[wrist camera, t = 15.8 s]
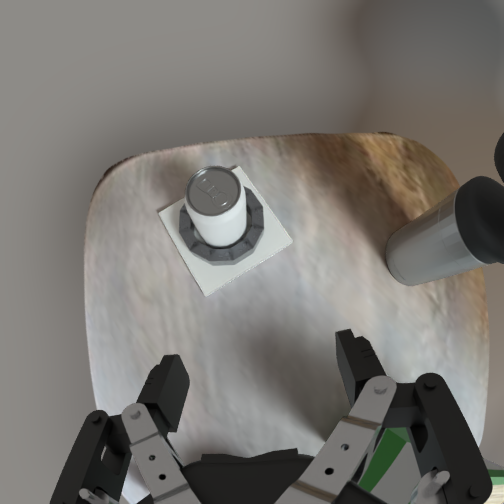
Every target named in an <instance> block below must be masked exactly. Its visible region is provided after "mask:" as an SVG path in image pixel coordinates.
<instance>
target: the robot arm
mask: <svg viewBox="0 0 504 504" xmlns="http://www.w3.org/2000/svg"><path fill="white" fill-rule="evenodd" d="M494 161H495V166H496V169H497V171H498V173H499V175H500V177H501V179H502V181H503V182H504V133H503V134H502V136H501V137H500V139H499V141H498V143H497V146H496V148H495V154H494ZM386 262H387V265H388V268H389V270H390V272H391V274H392V275H393V276H394V278H395V279H397V280H398V281H399V282H400V283H402V284H404V285H408V286H415V285H419V284H423V283H427V282H431V281H435V280H439V279H443V278H446V277H450V276H453V275H457V274H460V273H464V272H467V271H470V270H474V269H477V268H480V267H483V266H486V265H489V264H492V263H496V262H499V263H502V264H504V187H503V186H502V185H501V184H499V183H498V182H496V181H495V180H493V179H491V178H488V177H484V176H478V177H475V178H473V179H471V180H470V181H468V182H467V183H465V184H464V185H462V186H461V187H460V188H459V189H457V190H456V191H454V192H453V193H452V194H450V195H449V196H447V197H446V198H445V199H443V200H442V201H441V202H439V203H438V204H436V205H435V206H433V207H432V208H431V209H429V210H428V211H426V212H425V213H423V214H422V215H420V216H419V217H417V218H416V219H414V220H413V221H411V222H410V223H408V224H407V225H405V226H404V227H402V228H401V229H399V230H398V231H396V232H395V233H394V234H392V236H391V237H390V238H389V240H388V243H387V246H386ZM335 336H336V356H337V363H338V367H339V370H340V373H341V376H342V379H343V382H344V386H345V389H346V392H347V395H348V399H349V402H350V405H351V408H352V409H351V411H350V413H349V414H348V416H347V417H343V418H342V419H341V420H340V421H339V423H338V424H337V426H336V428H335V429H334V431H333V432H332V434H331V435H330V437H329V438H328V440H327V441H326V443H325V444H324V446H323V447H322V448H321V450H320V451H319V453H318V454H317V455H316V457H313V456H310V455H304V454H298V450H297V448H295V449H287V450H279V451H272V452H268V453H265V454H262V455H258V456H255V457H251V458H243V457H237V456H232V455H226V454H202V457H201V460H200V461H196V462H193V463H190V464H188V465H186V466H185V464H184V463H183V461H182V460H181V458H180V457H179V455H178V454H177V452H176V450H175V449H174V447H173V445H172V444H171V442H170V440H169V439H168V437H167V434H168V432H177V428H178V425H179V421H180V418H181V414H182V410H183V407H184V403H185V400H186V396H187V393H188V389H189V385H190V380H189V375H188V373H187V371H186V369H185V367H184V364H183V362H182V360H181V358H180V356H179V355H178V354H174V355H164V356H163V358H162V360H161V363H160V365H156V366H155V367H154V368H153V369H152V370H151V371H150V373H149V375H148V377H147V380H146V382H145V385H144V386H143V388H142V391H141V393H140V395H139V397H138V399H137V402H136V403H134V404H131V405H129V406H127V407H126V408H125V409H124V410H123V412H122V414H120V415H115V416H108V414H107V413H106V412H105V411H103V410H96V411H93V412H92V413H90V414H89V415H88V416H87V418H86V420H85V422H84V424H83V426H82V428H81V430H80V432H79V434H78V436H77V439H76V441H75V443H74V445H73V447H72V450H71V452H70V454H69V456H68V459H67V461H66V463H65V466H64V468H63V470H62V473H61V475H60V478H59V480H58V483H57V485H56V488H55V490H54V493H53V495H52V498H51V501H50V504H119V499H120V496H121V492H122V488H123V485H124V481H125V477H126V474H127V470H128V467H129V463H130V460H131V456H132V455H133V457H134V459H135V461H136V464H137V466H138V468H139V470H140V473H141V475H142V477H143V479H144V481H145V483H146V485H147V487H148V489H149V491H150V494H149V495H148V496H146V497H145V498H144V499H142V500H141V501H139V502H138V503H137V504H388V503H386V502H385V501H383V500H381V499H380V498H378V497H376V496H375V495H373V494H372V493H370V492H368V491H367V490H365V489H364V488H362V487H361V486H359V485H358V484H359V482H360V481H361V479H362V477H363V476H364V474H365V472H366V470H367V468H368V466H369V464H370V461H371V459H372V457H373V455H374V453H375V451H376V449H377V447H378V445H379V443H380V441H381V439H382V437H383V435H384V433H385V431H386V429H387V428H402V427H406V430H407V433H408V436H409V439H410V442H411V445H412V448H413V451H414V455H415V458H416V461H417V465H418V468H419V472H420V475H421V480H420V481H419V483H418V484H417V485H416V486H415V488H414V489H413V491H412V493H411V497H410V498H411V503H410V504H484V503H485V502H486V501H487V500H488V499H489V497H490V495H491V493H492V490H493V483H492V480H491V477H490V475H489V472H488V470H487V467H486V465H485V462H484V460H483V457H482V455H481V453H480V450H479V448H478V446H477V444H476V441H475V439H474V437H473V435H472V433H471V430H470V428H469V426H468V424H467V422H466V420H465V418H464V416H463V414H462V412H461V410H460V408H459V406H458V404H457V402H456V401H455V399H454V397H453V395H452V393H451V391H450V389H449V388H448V386H447V384H446V382H445V380H444V379H443V378H442V377H441V376H440V375H438V374H436V373H426V374H423V375H421V376H420V377H418V379H417V380H416V382H415V383H397V382H395V381H394V380H393V379H392V378H390V377H388V376H387V375H386V374H385V372H384V370H383V368H382V365H381V363H380V361H379V359H378V358H377V356H376V354H375V352H374V350H373V348H372V346H371V344H370V342H369V341H368V340H367V339H365V338H364V337H363V336H361V337H356V338H355V337H354V335H353V333H352V331H351V329H347V330H342V331H338V332H336V333H335ZM104 447H106V451H105V453H104V456H103V459H102V461H101V455H102V452H103V449H104Z"/></svg>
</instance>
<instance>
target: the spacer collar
mask: <svg viewBox="0 0 504 504" xmlns="http://www.w3.org/2000/svg"><path fill="white" fill-rule="evenodd" d="M243 187H244V190H245V196H246V211H247V212H248V214H249V215H250V216H251V220H252V227H251V229H250V231H249V232H248V234H247V236H246V238H245V240H243V241H242V242H240V243H238V244H237V245H235V246H233V247H232V248H230V249H211V248H209V247H207V246H205V245H203V244H201V243H200V242H198V240H197V238H196V237H195V235H194V231H195V224H194V223H193V221H192V219H191V217H190V215H189V213H188V211H187V209H186V206H185V203H184V205H183V206H182V208H181V209H180V216H179V233H180V235H181V236H182V238H183V240H184V242H185V243H186V245H187V247H188V249H189V251H190V252H191V253H192V254H193V255H194V256H195V257H197V258H199V259H201V260H203V261H205V262H207V263H208V264H210V265H212V266H220V265H235V264H237V263H239V262H240V261H242V260H243V259H245V258H247V257H248V256H250V255H251V254H253V253H254V251H255V249H256V247H257V245H258V244H259V242H260V240H261V238H262V236H263V233H264V215H263V206H262V204H261V203H260V202H259V200H258V199H257V197H256V196H255V195H254V193H253V192H252V190H251V189H249V188H247V187H245V186H243Z"/></svg>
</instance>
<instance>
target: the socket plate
mask: <svg viewBox="0 0 504 504" xmlns="http://www.w3.org/2000/svg"><path fill="white" fill-rule="evenodd" d="M231 171H232V172H233V173H235V175H236V176H237V177H238V179H239V180H240V181H241V183H242V185H243V186H245V187H247V188H249V189H251V190H252V192H253V193H254V195H255V196H256V197H257V199H258V200H259V202H260V203H261V204H262V206H263V215H264V233H263V236H262V238H261V240H260V242H259V244H258V245H257V247H256V249H255V251H254V253H253V254H251V255H250V256H248V257H247V258H245V259H243V260H242V261H240V262H239V263H237V264H235V265H220V266H212V265H210V264H208V263H207V262H205V261H203V260H201V259H199V258H197V257H195V256H194V255H193V254H192V253H191V252H190V251H189V249H188V247H187V245H186V243H185V242H184V240H183V238H182V236H181V235H180V233H179V216H180V209H181V208H182V206H183V205H184V203H185V197H184V198H182V199H181V200H179V201H177V202H176V203H174V204H172V205H171V206H169V207H167V208H166V209H164V210H163V211H161V212H159V213H158V214H159V216H160V218H161V219H162V221H163V223H164V225H165V227H166V229H167V230H168V232H169V234H170V236H171V238H172V240H173V241H174V243H175V245H176V247H177V249H178V250H179V252H180V254H181V256H182V257H183V259H184V261H185V263H186V264H187V266H188V268H189V270H190V271H191V273H192V275H193V276H194V278H195V280H196V282H197V283H198V285H199V287H200V288H201V290H202V292H203V293H204V295H205V296H206V297H207V296H208V295H210V294H212V293H213V292H215V291H217V290H218V289H220V288H221V287H223V286H225V285H226V284H228V283H229V282H231V281H233V280H234V279H236V278H238V277H239V276H241V275H242V274H244V273H246V272H247V271H249V270H250V269H252V268H254V267H255V266H257V265H258V264H260V263H262V262H263V261H265V260H266V259H268V258H269V257H271V256H273V255H274V254H276V253H277V252H279V251H281V250H282V249H284V248H285V247H287V246H288V245H290V244H292V242H293V241H292V239H291V238H290V236H289V235H288V233H287V232H286V230H285V229H284V227H283V226H282V225H281V223H280V222H279V220H278V219H277V217H276V216H275V215H274V213H273V212H272V210H271V209H270V208H269V206H268V205H267V203H266V202H265V201H264V199H263V198H262V196H261V195H260V194H259V192H258V191H257V189H256V188H255V187H254V185H253V184H252V182H251V181H250V180H249V178H248V177H247V176H246V174H245V173H244V172H243V170H242V169H241V167H240V166H239V167H237V168H235V169H233V170H231ZM251 227H252V220H251V216H250V215H249V214H248V212H247V211H246V232H245V235H244V237H243V238H242V240H241V241H240V242H242V241H243V240H245V238H246V236H247V234H248V232H249V231H250V229H251ZM194 235H195V237H196V238H197V240H198V242H200V243H201V244H203V245H205V246H207V247H209V248H211V249H216V248H213V247H211V246H209V245H208V244H207V243H206V242H205V241H204V240H203V238H202V237H201V235H200V233H199V232H198V230H197V228H196V226H195V231H194ZM240 242H239V243H240ZM229 249H230V248H229Z"/></svg>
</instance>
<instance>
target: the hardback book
mask: <svg viewBox="0 0 504 504" xmlns="http://www.w3.org/2000/svg"><path fill="white" fill-rule="evenodd" d="M483 460H484V462H485V465H486V467H487V470H488V472H489V475H490V477H491V480H492V483H493V490H492V493H491V495H490V497H489V499H488V500H487V501H486V502H485V503H484V504H502V503H503V502H504V467H503V466H500V465H498V464H496V463H494V462H491V461H489V460H487V459H484V458H483ZM420 480H421V475H420V472H419V468H418V465H417V461H416V458H415V455H414V451H413V448H412V445H411V442H410V439H409V436H408V433H407V430H406V427H402V428H387V429H386V431H385V433H384V435H383V437H382V439H381V441H380V443H379V445H378V447H377V449H376V451H375V453H374V455H373V457H372V459H371V461H370V464H369V466H368V468H367V470H366V472H365V474H364V476H363V477H362V479H361V481H360V482H359V484H358V485H359V486H361V487H362V488H364V489H365V490H367V491H368V492H370V493H372V494H373V495H375V496H376V497H378V498H380V499H381V500H383V501H385V502H386V503H388V504H410V503H411V498H410V497H411V493H412V491H413V489H414V488H415V486H416V485H417V484H418V483H419V481H420Z"/></svg>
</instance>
